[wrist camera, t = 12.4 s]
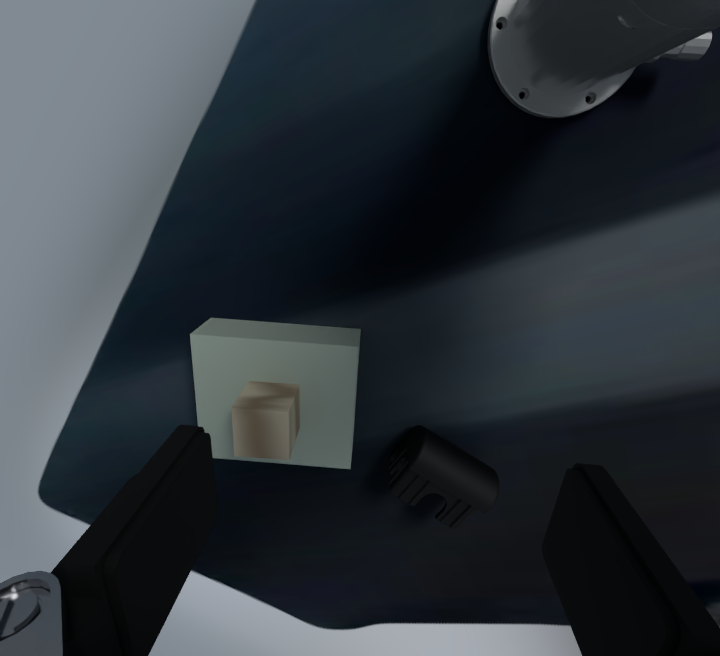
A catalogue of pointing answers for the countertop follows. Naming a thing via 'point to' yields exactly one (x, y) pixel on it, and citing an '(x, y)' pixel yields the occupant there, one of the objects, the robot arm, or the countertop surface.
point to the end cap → (442, 476)
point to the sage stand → (279, 365)
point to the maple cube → (266, 420)
